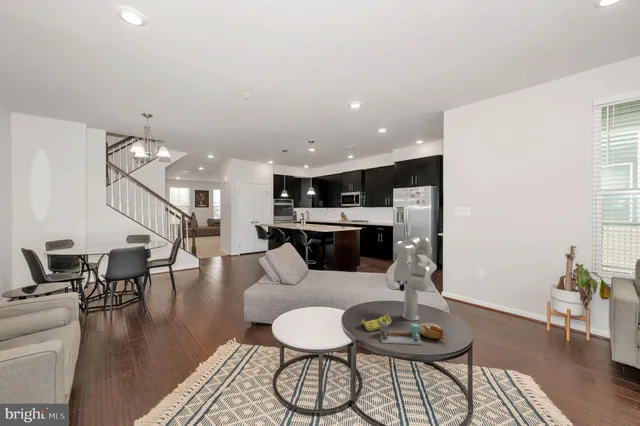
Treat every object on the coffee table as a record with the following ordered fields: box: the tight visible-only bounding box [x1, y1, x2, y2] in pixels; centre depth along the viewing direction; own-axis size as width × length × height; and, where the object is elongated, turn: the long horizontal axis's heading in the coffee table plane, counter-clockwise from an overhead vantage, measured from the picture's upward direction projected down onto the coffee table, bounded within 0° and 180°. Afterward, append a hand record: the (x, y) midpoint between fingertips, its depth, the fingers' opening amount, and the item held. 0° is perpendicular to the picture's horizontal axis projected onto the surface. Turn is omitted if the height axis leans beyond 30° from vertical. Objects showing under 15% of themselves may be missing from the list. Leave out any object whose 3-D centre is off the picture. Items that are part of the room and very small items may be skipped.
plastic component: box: [360, 313, 392, 332], centre depth 189 cm, size 20×7×10 cm
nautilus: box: [418, 322, 449, 343], centre depth 173 cm, size 8×22×15 cm
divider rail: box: [379, 322, 421, 339], centre depth 172 cm, size 11×25×8 cm, turn 86°
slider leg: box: [410, 322, 421, 340], centre depth 171 cm, size 11×4×8 cm, turn 176°
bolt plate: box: [379, 335, 424, 346], centre depth 169 cm, size 7×25×1 cm, turn 86°
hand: (401, 290), depth 184 cm, fingers closed
